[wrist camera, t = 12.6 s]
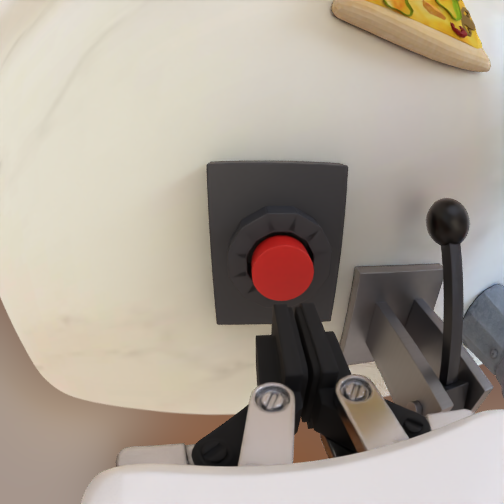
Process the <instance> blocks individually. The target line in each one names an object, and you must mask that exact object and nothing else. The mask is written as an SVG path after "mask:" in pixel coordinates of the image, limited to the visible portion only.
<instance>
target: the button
mask: <svg viewBox="0 0 504 504" xmlns="http://www.w3.org/2000/svg"><path fill="white" fill-rule="evenodd" d="M251 267H252V280H253V283H254V286H255V287H256V289H257V290H258V291H259V292H260V293H261V294H262V295H263V296H265V297H267V298H269V299H272V300H277V301H286V300H290V299H293V298H296V297H298V296H299V295H301V294H302V293H304V292H305V291H306V290H307V288H308V287H309V286H310V284H311V282H312V279H313V275H314V267H313V263H312V261H311V258H310V256H309V254H308V252H307V250H306V248H305V247H304V245H303V244H302V243H301V242H300V241H299V240H297V239H295V238H293V237H291V236H287V235H276V236H272V237H269V238H267V239H265V240H264V241H262V242H261V243H260V244H259V245H258V246H257V247H256V249H255V251H254V252H253V255H252V260H251Z"/></svg>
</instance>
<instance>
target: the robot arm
mask: <svg viewBox="0 0 504 504" xmlns="http://www.w3.org/2000/svg"><path fill="white" fill-rule="evenodd" d="M256 372H257V387H256V388H255V389H254V390H253V391H252V393H251V396H250V400H249V405H247V406H246V407H245V408H244V409H242V410H241V411H240V412H238V413H237V414H236V415H234V416H233V417H232V418H230V419H229V420H228V421H226V422H225V423H224V424H222V425H221V426H219V427H218V428H217V429H215V430H214V431H212V432H211V433H210V434H208V435H207V436H205V437H204V438H202V439H201V440H199V441H198V442H197V443H196V444H193V445H185V444H184V443H182V444H171V445H157V446H133V447H127V448H125V449H123V450H121V451H120V452H119V454H118V455H117V459H116V467H115V468H111V469H107V470H105V471H102V472H100V473H99V474H97V475H96V476H95V477H94V478H93V479H92V481H91V482H90V484H89V485H88V487H87V489H86V491H85V493H84V495H83V498H82V501H81V504H504V410H502V409H499V410H488V411H483V412H479V413H476V414H475V413H473V412H472V411H471V410H468V409H460V410H454V411H447V412H440V413H431V414H427V415H426V416H425V417H424V416H422V415H421V414H419V413H416V412H414V411H412V410H409V409H407V408H404V407H402V406H400V405H397V404H395V403H393V402H390V401H388V400H386V399H384V398H383V397H382V395H381V394H380V392H379V391H378V389H377V388H376V386H375V385H374V383H373V382H372V381H371V380H370V379H368V378H367V377H365V376H362V375H356V374H352V375H351V372H350V370H349V367H348V365H347V362H346V360H345V357H344V355H343V352H342V350H341V348H340V345H339V343H338V340H337V338H336V336H335V334H334V332H333V331H330V332H325V330H324V328H323V325H322V323H321V320H320V318H319V315H318V312H317V310H316V307H315V305H314V303H313V302H310V303H300V305H299V306H298V307H295V310H294V313H293V310H292V307H287V304H273V312H272V335H260V336H256ZM300 418H301V419H302V422H307V425H308V429H310V428H314V430H315V431H316V432H318V433H320V438H321V441H322V443H323V446H324V448H325V451H326V453H327V455H328V458H329V459H325V460H318V461H310V462H303V463H294V464H293V449H294V435H295V434H296V433H297V431H298V426H299V422H300Z"/></svg>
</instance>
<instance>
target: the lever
mask: <svg viewBox="0 0 504 504" xmlns="http://www.w3.org/2000/svg"><path fill="white" fill-rule="evenodd" d="M426 225H427V230H428V233H429V235H430V236H431V238H432V239H433V240H434V241H435V242H436V243H437V244H439V245H441V251H442V264H443V284H444V322H443V343H442V355H441V366H440V374H439V378H438V379H439V381H440V383H441V384H442V386H443V387H444V389H445V391H446V392H447V394H448V396H449V398H450V399H451V401H452V403H453V404H454V406H453V407H452V409H451V410H450V411H454V410H460V409H464V405H465V400H466V395H467V390H468V384H469V383H468V382H466V381H463V380H461V379H458V373H459V365H460V356H461V345H462V331H463V272H462V257H461V246H460V243H461V242H462V241H463V240H464V239H465V238H466V236H467V234H468V231H469V225H470V222H469V216H468V213H467V211H466V209H465V208H464V206H463V205H462V204H461V203H460V202H458V201H456V200H454V199H451V198H444V199H440V200H438V201H436V202H435V203H434V204H433V205H432V206H431V207H430V209H429V211H428V214H427V219H426Z"/></svg>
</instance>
